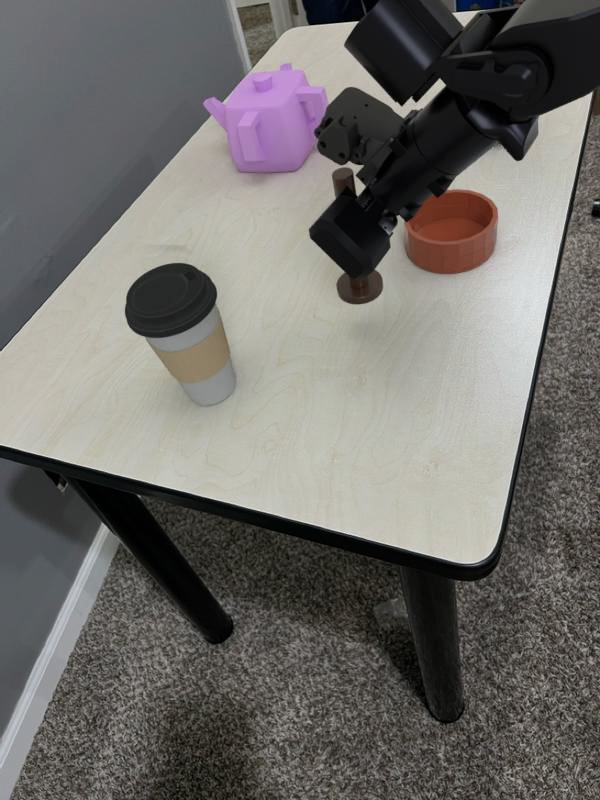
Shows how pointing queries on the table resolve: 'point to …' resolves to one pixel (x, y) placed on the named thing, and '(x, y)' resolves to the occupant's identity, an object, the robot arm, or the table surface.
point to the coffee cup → (184, 329)
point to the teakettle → (271, 120)
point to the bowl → (452, 232)
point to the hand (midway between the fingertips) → (340, 233)
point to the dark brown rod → (346, 286)
